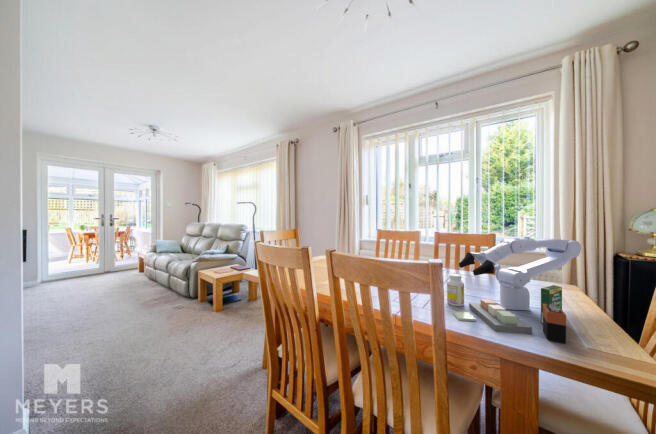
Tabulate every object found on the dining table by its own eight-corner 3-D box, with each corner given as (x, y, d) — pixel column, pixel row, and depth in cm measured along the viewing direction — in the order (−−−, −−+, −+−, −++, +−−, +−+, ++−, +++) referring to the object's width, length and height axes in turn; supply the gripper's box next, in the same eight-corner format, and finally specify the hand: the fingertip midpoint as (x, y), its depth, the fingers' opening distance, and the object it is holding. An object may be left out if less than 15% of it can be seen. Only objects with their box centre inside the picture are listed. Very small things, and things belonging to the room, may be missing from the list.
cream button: (499, 312, 90) (499, 305, 90) (505, 317, 86) (505, 309, 86) (488, 312, 90) (488, 304, 90) (493, 316, 87) (493, 308, 87)
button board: (497, 309, 97) (497, 304, 97) (531, 333, 78) (531, 327, 78) (469, 307, 99) (469, 303, 99) (495, 331, 79) (495, 325, 79)
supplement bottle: (460, 301, 106) (459, 273, 106) (467, 307, 100) (467, 277, 100) (444, 301, 107) (444, 272, 107) (450, 306, 101) (450, 276, 100)
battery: (547, 340, 73) (547, 308, 73) (542, 331, 79) (542, 301, 79) (566, 344, 71) (566, 311, 71) (560, 335, 76) (560, 304, 76)
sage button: (509, 319, 84) (509, 311, 84) (516, 325, 80) (516, 316, 80) (496, 319, 85) (496, 310, 85) (503, 324, 81) (503, 315, 81)
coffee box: (549, 327, 82) (549, 289, 82) (539, 323, 84) (539, 287, 84) (563, 323, 85) (563, 287, 85) (553, 319, 87) (553, 284, 87)
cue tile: (468, 314, 92) (468, 312, 92) (476, 321, 87) (476, 319, 87) (452, 313, 93) (452, 311, 93) (458, 320, 87) (458, 318, 87)
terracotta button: (491, 306, 96) (491, 299, 96) (496, 310, 92) (496, 303, 92) (480, 306, 96) (480, 299, 96) (485, 310, 92) (485, 302, 92)
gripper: (477, 241, 105) (451, 255, 104) (508, 253, 91) (478, 268, 90) (480, 255, 107) (455, 268, 106) (511, 268, 93) (482, 283, 92)
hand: (466, 269), depth 98 cm, fingers open, 7 cm apart
